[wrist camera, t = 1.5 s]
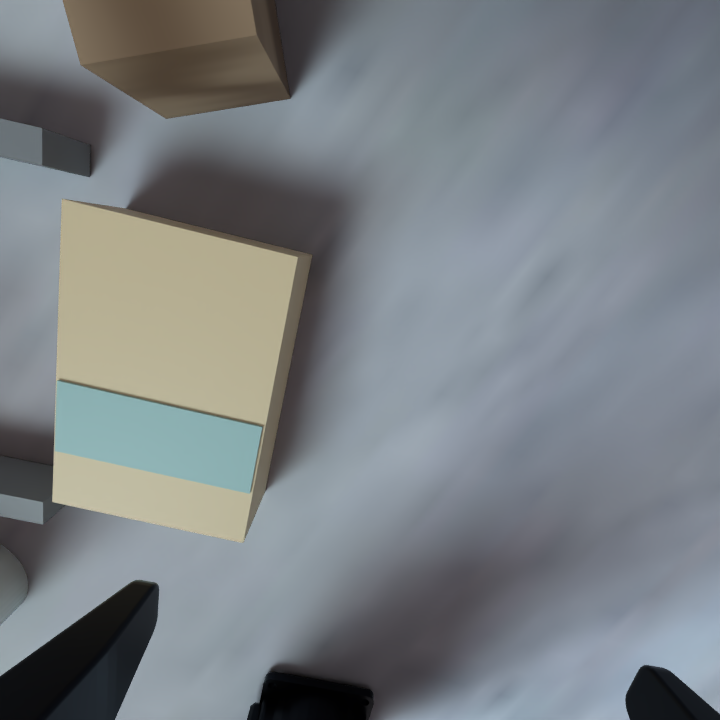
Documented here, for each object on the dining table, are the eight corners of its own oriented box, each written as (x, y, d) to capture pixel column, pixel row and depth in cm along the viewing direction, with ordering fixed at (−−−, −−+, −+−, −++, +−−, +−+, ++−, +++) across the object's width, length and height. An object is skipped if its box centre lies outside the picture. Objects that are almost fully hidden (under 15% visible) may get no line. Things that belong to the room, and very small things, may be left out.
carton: (313, 254, 18) (297, 257, 14) (266, 488, 21) (242, 544, 17) (130, 209, 17) (59, 198, 13) (111, 453, 20) (50, 503, 17)
